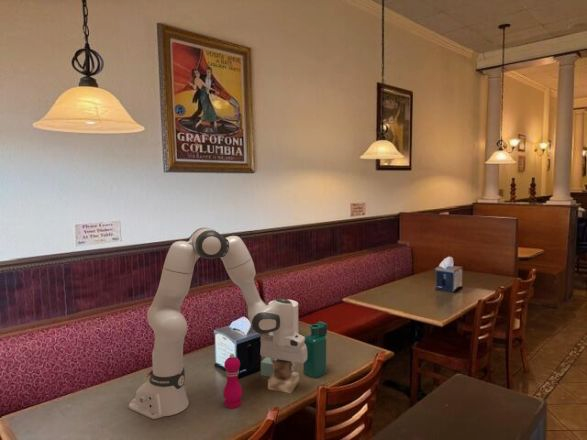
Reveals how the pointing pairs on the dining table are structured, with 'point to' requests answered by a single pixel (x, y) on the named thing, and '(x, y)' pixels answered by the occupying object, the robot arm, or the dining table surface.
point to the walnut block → (282, 368)
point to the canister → (295, 307)
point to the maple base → (283, 383)
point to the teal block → (267, 367)
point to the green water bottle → (316, 350)
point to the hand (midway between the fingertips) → (283, 369)
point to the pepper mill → (232, 383)
